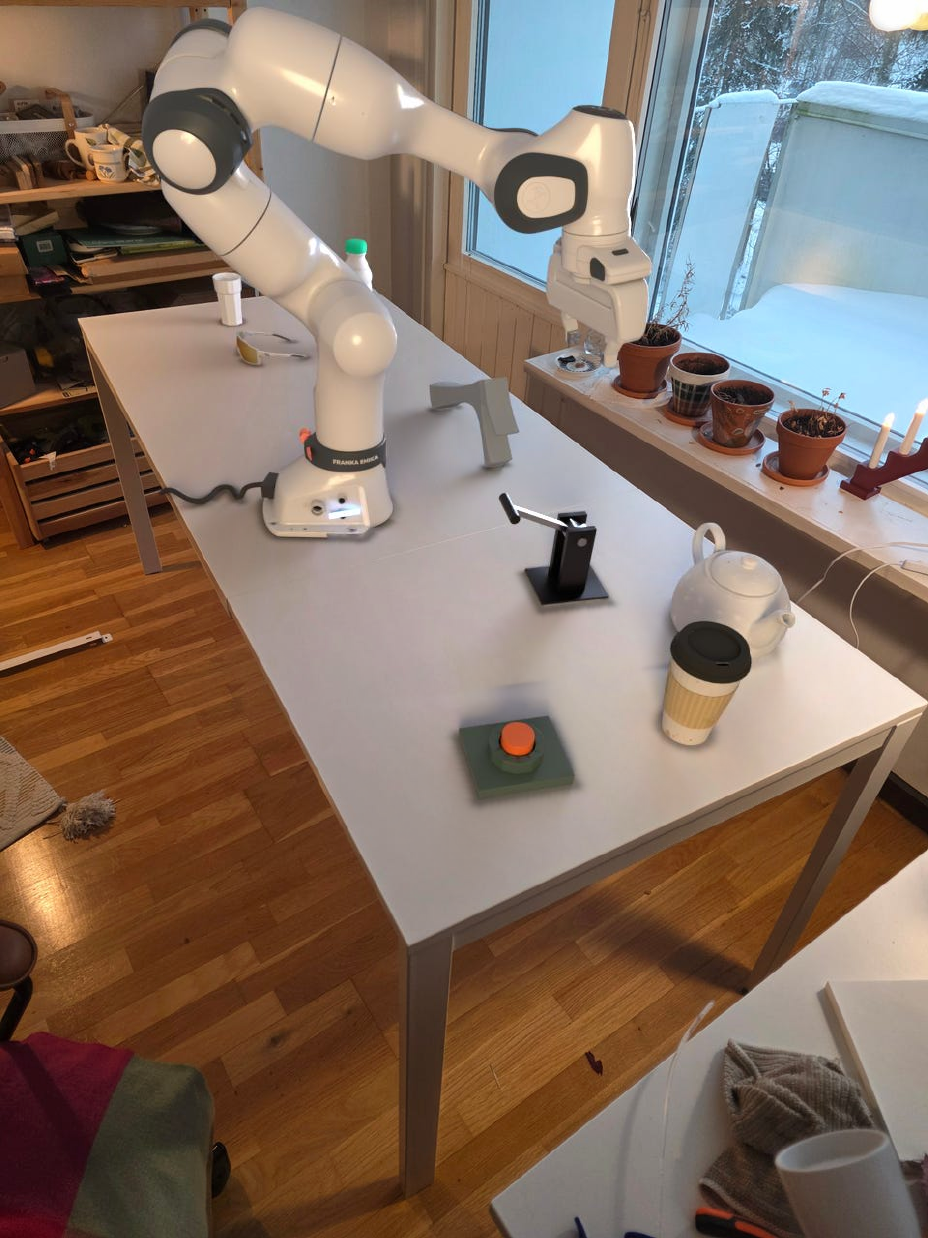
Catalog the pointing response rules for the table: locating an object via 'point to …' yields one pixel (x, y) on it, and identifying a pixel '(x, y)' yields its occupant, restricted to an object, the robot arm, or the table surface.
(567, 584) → the lever stand
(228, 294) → the cup
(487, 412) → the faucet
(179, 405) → the table surface
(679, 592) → the teapot
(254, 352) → the sunglasses
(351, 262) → the water bottle
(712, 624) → the coffee cup
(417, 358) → the table surface
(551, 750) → the button box
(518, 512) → the tap lever
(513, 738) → the button
